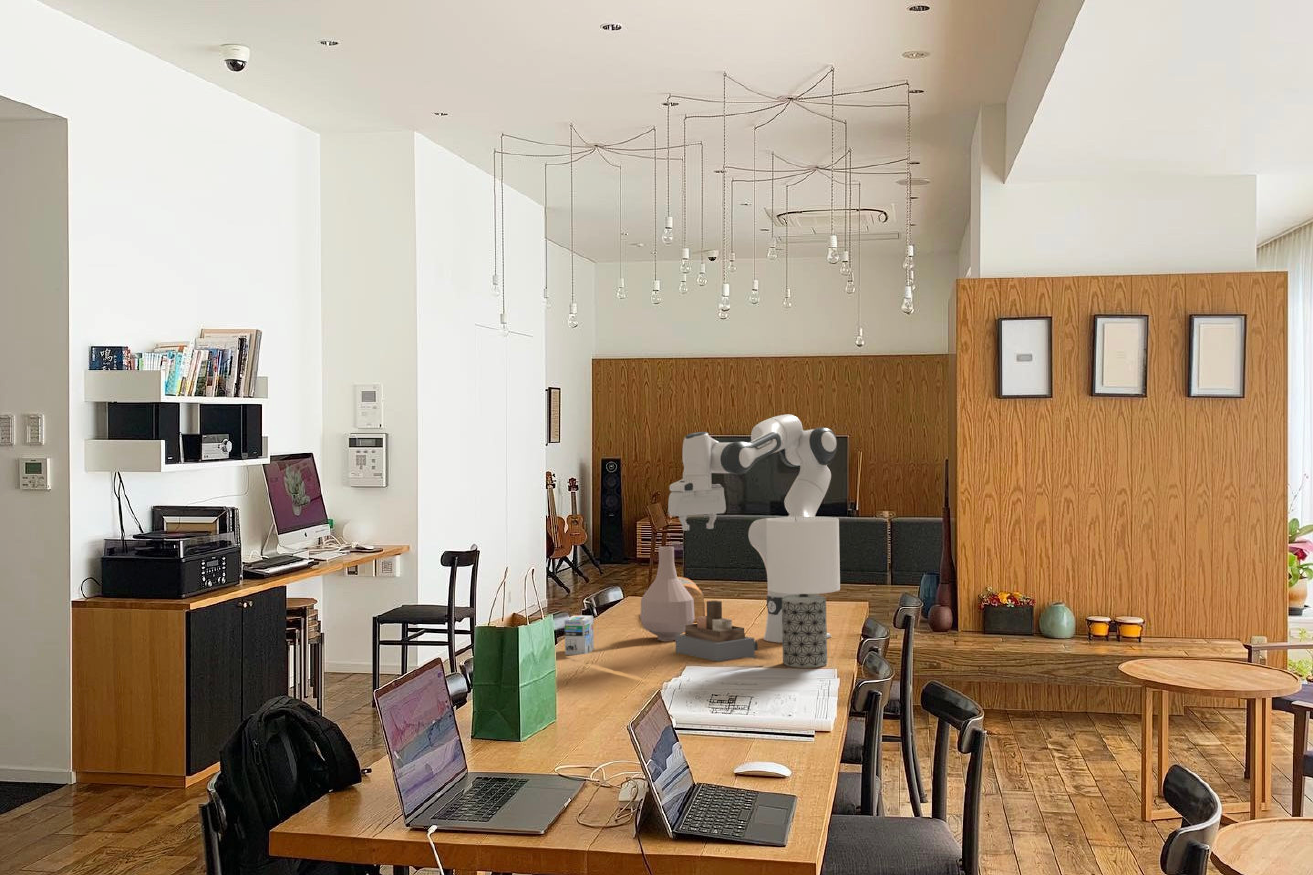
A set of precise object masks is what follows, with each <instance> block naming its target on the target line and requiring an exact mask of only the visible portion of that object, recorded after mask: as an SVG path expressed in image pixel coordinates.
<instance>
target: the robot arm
mask: <svg viewBox="0 0 1313 875" xmlns="http://www.w3.org/2000/svg"><path fill="white" fill-rule="evenodd" d="M802 424H803V423H802V421H801V419H799V417H797V416H795V415H793V414H789V413H787V414H780V415H775V416H772V417H770V418H767V419H764V420H763V421H760V422H759V423H757V424H756V425H754V427H753V428H752V430H751V434H750V439H751V440H750V441H749V442H746V441H733V442H729V441H728V442H720V441H718V440H716V439H714V438H712V437H711V436H710V435H709V432H707V431H698V432H696V431H695V432H691V433H688V434H686V436H685V437H684V439H683V442H682V464H683V471H682V479H680V480H678V481H675V482H673V483H671V484H670V485H669V488H668V489H669V491H670V494H669V496H668V505H667V507H668V514H669V516H671V517H678V520H679V522H680V524H681V529H682V531H684V532H686V531H690V524H688V523H687V519H688V517H687V516H701V515H702V516H703V515H708V517H709V519H708V522H706V524H705V525H706V529H708V530H711V529H714V527H715V526H714V523H715V521H716V519H717V514H725V512H726V510H727V506H726V505H727V504H726V498H725V497H726V496H725V488H724V487H723V485H721V484H720V483H716V484H714V483H712V474H732V475H743V474H746V473H747V472H749V471H750V469H751V468H752V467H753V466H754V465H755V464H756V463H757V462H759V461H760V460H763V459H765V458H766V457H768V456H770V455H772V454H774V453H777V452H778V455H779V458H780V459H781V461H782V462H783V463H784V465H786V466H788V467H799V472H798V475H797V476H796V478H795V480H794V482H792V485H791V486H790V489H789V491H788V492H787V494H786V496H785V498H784V501H783V504H784V508H785V510H786V511H787V513H788V516H787V517H816V514H817V512H818V509H819V508H820V506H821V504H822V502H823V500H824V498H825V496H826V494H827V492H828V489H829V487H830V483H831V479H832V473H831V470H830V468H829V467H828V465H830V464H832V462H833V461H834V457H835V455H836V453H837V449H838V440H837V439H838V438H837V436H836V434H835V432H833V430H832V429H829V428H827V427H816V428H814V429H813V428H811V429H807V430H805V429H803V428H804V427H803V425H802ZM769 518H770V517H765V518H759V519H756V520H753V522H752V523H751V524H750V526H749V528H748V540H749V543H750V545H751V547H753V548H754V549H755V550H756V551H757V552H758V554H759V555H760V557H761V558H762V561H763V564H764V567H765V570H766V572H767V528H766V519H769ZM786 595H791V594H788V593H777V592H772V591H769V590H768V589H767V595H766V608H767V616H766V617H767V618H766V623H765V624H766V625H765V632H764V636H763V640H765V641H767V642H772V643H782V644H783V636H782V598H783V597H785V596H786ZM831 634H832V633H829V632H827V639H828V638H831V637H832V635H831Z"/></svg>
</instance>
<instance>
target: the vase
mask: <svg viewBox="0 0 1313 875" xmlns="http://www.w3.org/2000/svg"><path fill="white" fill-rule="evenodd" d="M677 574H678V573H677V568H676V566H675V547H674V546H659V547H658V566H657V571H656V577H655V579H654V580H653V582H652V583H651V584H650V585H649V588H648V589H647V590H646V591H645V592H644V594H643V595H642V597H641V598H640V618H639V619H640V621H641V623H642V626H643V628H644V630H645V631H647V632H649V633H651V634H653V635H655V636H657V640H658V641H659V640H663V641H662V642H674V641H673V640H675V641H676V637H675V635H682V634H685V630H686V627H685V626H686V625H691V624H693V622H694V619H695V615H694V599H693V597H692V596H691V595H690V593H689V592H688V591H687V590H686V588H685V587H684V586H683V584H682V583H681V582H680V580H679V579H678V578H677V577H678V575H677Z"/></svg>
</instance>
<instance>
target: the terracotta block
mask: <svg viewBox="0 0 1313 875" xmlns="http://www.w3.org/2000/svg"><path fill="white" fill-rule="evenodd" d="M697 627H699V628H704V629H707V615H705V616H701V617H697Z"/></svg>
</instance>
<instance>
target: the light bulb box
mask: <svg viewBox="0 0 1313 875" xmlns="http://www.w3.org/2000/svg"><path fill="white" fill-rule="evenodd" d="M594 636H595V634H594V616H593V615H582V614H581V615H579V614H578V615H577V614H576V615H574V614H573V615H572V616H569V617H567V618H566V619H564V655H565V656H578V655H586V654H589V653H591V652H593V651H594V650H595V648H594V647H595V646H594V645H595V643H594V642H595V641H594V639H595V638H594ZM593 649H594V650H593ZM592 650H593V651H592Z"/></svg>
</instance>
